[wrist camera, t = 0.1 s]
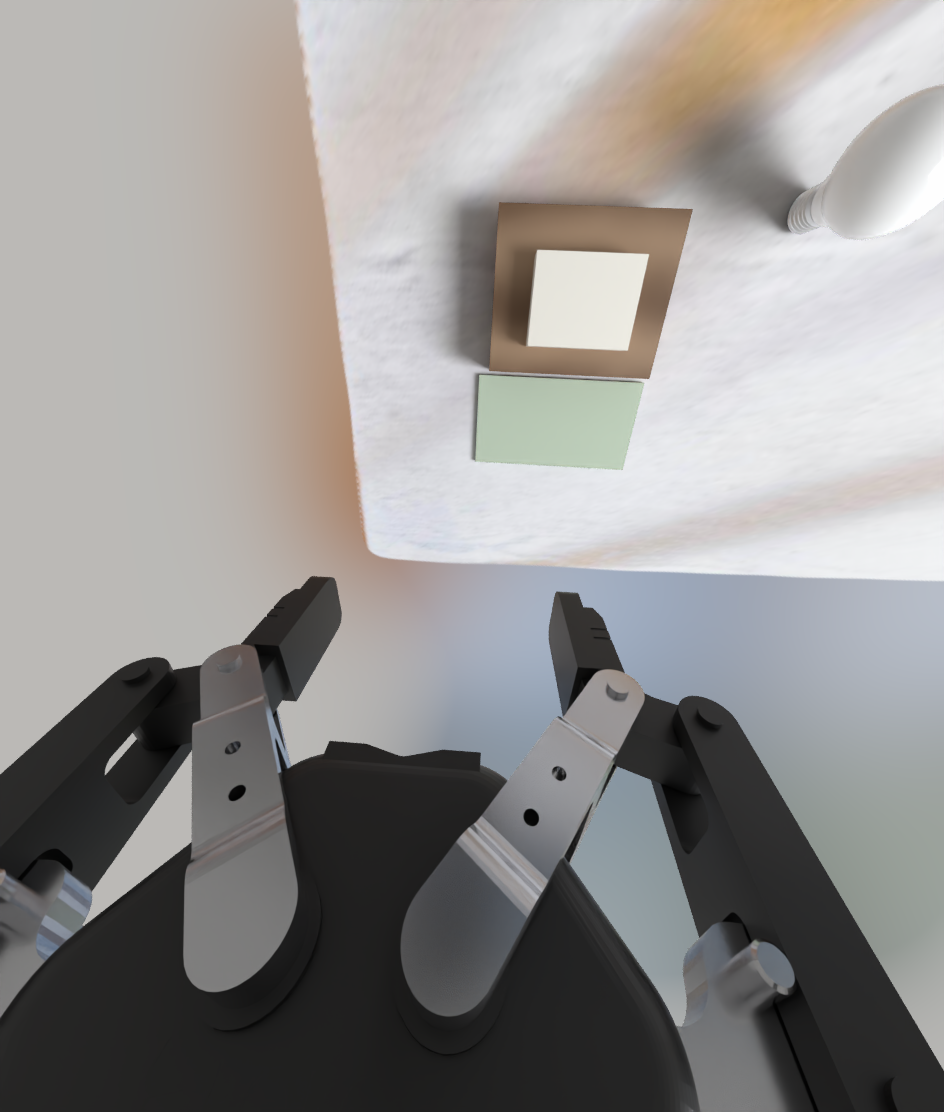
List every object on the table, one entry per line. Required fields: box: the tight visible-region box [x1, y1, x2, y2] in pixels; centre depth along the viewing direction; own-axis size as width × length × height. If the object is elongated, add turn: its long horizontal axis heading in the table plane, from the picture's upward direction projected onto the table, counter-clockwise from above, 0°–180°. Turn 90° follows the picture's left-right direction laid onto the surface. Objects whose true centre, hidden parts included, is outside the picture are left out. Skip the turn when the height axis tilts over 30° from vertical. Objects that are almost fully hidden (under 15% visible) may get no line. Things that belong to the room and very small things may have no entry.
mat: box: [475, 375, 644, 470], centre depth 37 cm, size 8×16×1 cm, turn 88°
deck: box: [489, 202, 693, 379], centre depth 30 cm, size 11×14×4 cm
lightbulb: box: [787, 84, 944, 240], centre depth 24 cm, size 6×6×11 cm
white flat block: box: [526, 250, 649, 351], centre depth 28 cm, size 6×8×2 cm
